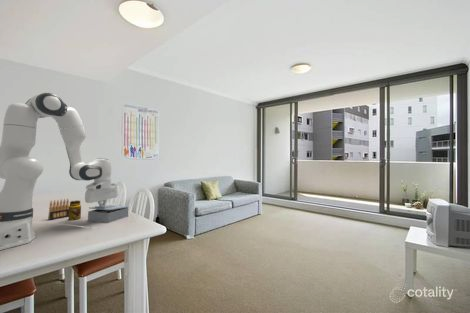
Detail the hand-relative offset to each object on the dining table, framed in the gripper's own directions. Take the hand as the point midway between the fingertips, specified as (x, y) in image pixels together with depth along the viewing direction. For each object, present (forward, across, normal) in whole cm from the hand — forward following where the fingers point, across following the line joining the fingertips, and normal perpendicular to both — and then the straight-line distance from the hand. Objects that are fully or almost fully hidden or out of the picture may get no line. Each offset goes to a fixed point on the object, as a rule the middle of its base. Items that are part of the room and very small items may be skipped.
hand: (102, 207), depth 131 cm
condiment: (+9, +3, -19) cm, 21 cm away
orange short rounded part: (+8, -9, 0) cm, 12 cm away
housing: (+9, -5, 0) cm, 10 cm away
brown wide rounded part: (+8, -2, 0) cm, 8 cm away
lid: (+1, -6, 0) cm, 6 cm away
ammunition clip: (+9, +2, -32) cm, 33 cm away
